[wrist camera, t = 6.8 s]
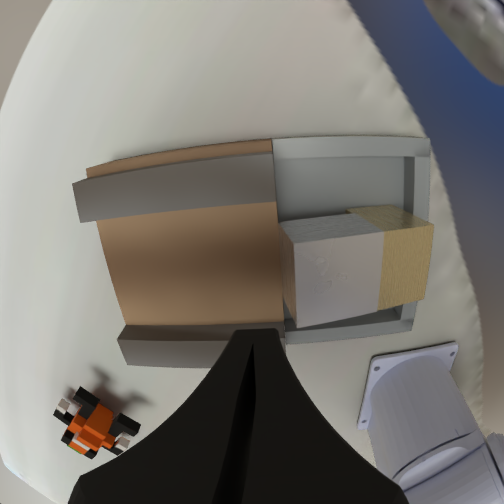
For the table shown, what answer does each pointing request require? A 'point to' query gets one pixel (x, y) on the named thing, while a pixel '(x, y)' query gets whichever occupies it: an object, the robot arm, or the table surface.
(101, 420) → the toy
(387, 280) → the tan wooden block
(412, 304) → the tray
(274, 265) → the slot block
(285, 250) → the grey block
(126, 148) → the table surface
